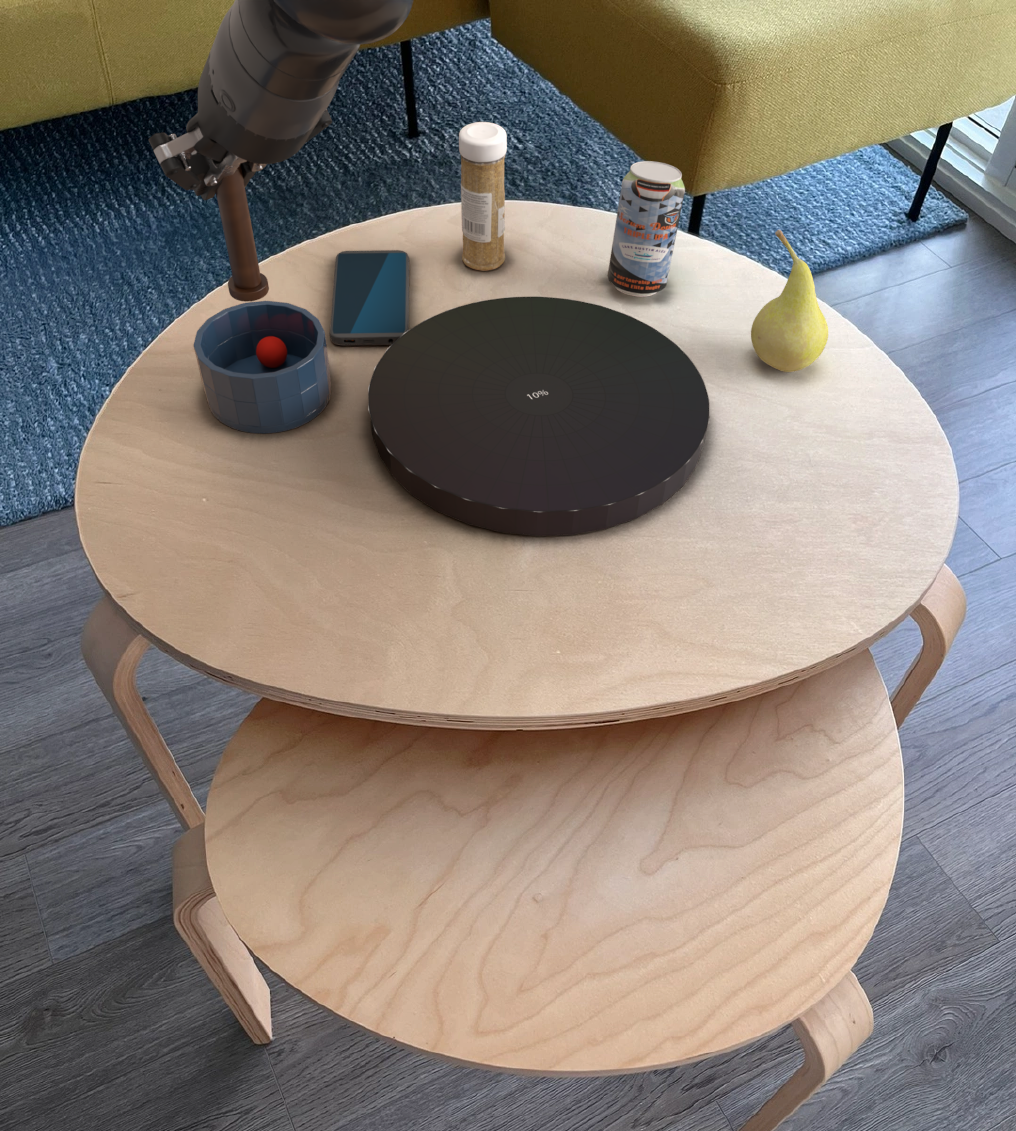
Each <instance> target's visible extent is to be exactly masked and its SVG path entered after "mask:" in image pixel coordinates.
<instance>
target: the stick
mask: <svg viewBox="0 0 1016 1131" xmlns="http://www.w3.org/2000/svg"><path fill="white" fill-rule="evenodd" d="M221 181H222V182H221V184H220V186H219V187H218V189H217V190H216V193H215V195H216V201H217V205H218V211H219V216H220V221H221V225H222V231H223V236H224V240H225V246H226V251H227V256H228V260H229V266H230V270H231V276H230V277H229V279H228V280H227V288H228V292H229V295H230V297H231V298H232V299H234V300H236V301H239V302H244V303H248V302H256V301H259V300H261V299H263V298H264V297H266V296H267V295H268V293H269V291H270V286H269V280H268V278H267V276H266V275H265V274H264V273H261V270H260V266H259V260H258V259H259V258H258V255H257V248H256V242H255V238H254V232H253V226H252V219H251V215H250V208H249V202H248V198H247V190H246V187H245V185H244V180H243V174H242V169H241V164H240V165H239V167H238V168H237V170H236V171H235V172H234V174H233V175H230V176H226V177H223V178H222V180H221Z"/></svg>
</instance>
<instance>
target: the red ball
mask: <svg viewBox="0 0 1016 1131" xmlns="http://www.w3.org/2000/svg"><path fill="white" fill-rule="evenodd" d="M256 355H257V358H258V360H259V361H260V362H261V363H262V364H263V365H264V366H266V367H269V368H276V367H279V366H281V365H282V364H283V363H284V362H285V360H286V358H287V348H286V346H285V344H284V342H283V341H282V340H280V339H279V338H277V337H274V336H268V337H265V338H263V339H261V340H260V341H259V343H258V345H257V348H256Z"/></svg>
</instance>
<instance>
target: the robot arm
mask: <svg viewBox="0 0 1016 1131" xmlns="http://www.w3.org/2000/svg"><path fill="white" fill-rule="evenodd" d="M413 4H414V0H234V2H233V4H232V5H231V6H230V8H229V9H228V10H227V12H226V13H225V15H224V16H223V19H222V20H221V23H220V24H219V27H218V29H217V32H216V35H215V37H214V40H213V43H212V45H211V48H210V51H209V54H208V56H207V58H206V61H205V64H204V67H203V69H202V72H201V74H200V77H199V81H198V86H197V87H198V88H197V113H196V114H195V115H194V116H193V117H191V118H190V119H189V120H188V122H187V124H186V133H184V134H181V135H180V136H178V137H177V135H176V134H175V133H171V134H169V135H168V134H167V133H165V132H156V133H153V134H152V136H150V137H149V138H148V142H149V144H150V146H151V148H152V150H153V153H154V155H155V157H156V160H157V161H158V163H159V165H160V167H161V169H162V172H163V174H164V176H165V177H167V179H169V180H170V181H172V182H174V183H175V184H176V185H178V186H179V187H181V188H182V189H184V190H185V191H191V190H192V191H193V192H194V194H195V195H196V197H199V196H200V197H201V199H202V200H203V201H208V200H210V199H213V198H214V197H215V195H216V190H217V189H218V187H219V186H220V184H221V182H222V181H221V180H222V178H223V177H226V176H230V175H233V174H234V172H235V171H236V170H237V168H238V167H239V165H240V164H241V169H242V174H243V180H244V185H245V188H246V187H247V186H248V184H249V182H250V181H251V179H252V178H253V177H254V176H255V174H256V172H261V171H263V170H264V169H265V167H267V165H271V164H272V165H273V164H278V163H281V162H284V161H286V160H288V159H290V158H293V156H295V155H296V154H297V153H298V152H300V150H302V148H303V147H304V145H306V143H308V142H309V141H311V140H312V139H313V138H314V137H315V136H317V135H318V134H320V133H321V132H322V131H323V130H324V129H326V128H328V127H329V126H330V125H332V123H333V120H332V117H331V115H330V112H329V111H328V107H329V106H330V104H331V102H332V101H333V99H334V97H335V94H336V92H337V89H338V87H339V84H340V80H341V79H342V77H343V75H344V74H345V72H346V71H347V69H348V68H349V66H350V64H351V63H352V61H353V60H354V57H355V56H356V54H357V53H358V50H359V49H360V46H361V45H368V44H373V43H377V42H379V41H382V40H384V39H386V38H388V37H390V36H391V35H393V34H395V33H396V31H397V30H398V29H399V28H400V27H401V26H402V25H404V23H405V21H406V20H407V18H408V17H409V15H410V12H411V10H412V8H413Z"/></svg>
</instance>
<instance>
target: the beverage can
mask: <svg viewBox="0 0 1016 1131" xmlns="http://www.w3.org/2000/svg"><path fill="white" fill-rule="evenodd" d="M682 176H683V174H682V171H681V170H680V169H678V168H677V167H676V166H673V165H671V164H668V163H665V162H659V161H653V160H652V161H651V160H643V161H637V162H635V163H633V164H631V165H630V168H629V171H628V172H627V173H626V175H624V176H623V179H622V181H621V186H620V193H619V200H618V205H617V212H616V218H615V225H614V232H613V239H612V245H611V251H610V257H609V262H608V271H607V280H608V281H609V282H610V284H611V285H613V286H614V288H615V289H616V290H617V291H619V292H620V293H622V294H624V295H628V296H631V297H640V298H642V297H643V298H645V297H650V296H654V295H656V294H657V293H659V292H661V291H663V290H664V289H665V288H666V287H667V284H668V279H669V274H670V269H671V264H672V259H673V254H674V248H675V243H676V238H677V233H678V228H679V224H680V218H681V213H682V208H683V202H684V197H685V191H686V187H685V184H684V182H683V180H682Z"/></svg>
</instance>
